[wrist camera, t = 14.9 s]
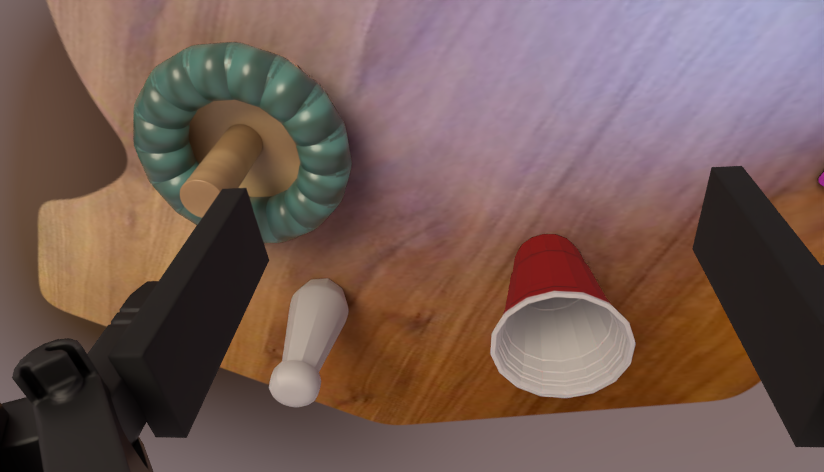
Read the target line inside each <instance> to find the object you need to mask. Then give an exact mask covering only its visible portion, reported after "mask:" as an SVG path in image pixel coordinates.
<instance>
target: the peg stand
mask: <svg viewBox="0 0 824 472" xmlns="http://www.w3.org/2000/svg"><path fill="white" fill-rule="evenodd" d="M296 67H298V66H296ZM298 68H299V67H298ZM189 142H190V144H191V147H192V150H193V153H194V156H195V159H196V160H197V161H198V163H199V165H198V167H197V168H196V169H195V170H194V172H193V173H192V174H191V175H190V177H189V178H188V179H187V180H186V182H185V183H184V184H183V185H182V187H181V189H180V199H181V202H182V204H183V205H184V207H185V208H186V209H187V210H188V211H189V212H191V213H192V214H194V215H196V216H198V217H201V218H202V217H203V216H204V215H205V213H206V212H207V210H208V209H209V207H210V206H211V204H212V203H213V201H214V200H215V198H216V197H217V196H218V194H219V193H220V191H221V190H222V189H230V188H247V191H248V194H249V196H251V197H267V196H274V195H276V194H279V193H281V192H283V191H285V190H287V189H288V188H289V187H290V186H291V185H292V183H293V182H294V181H295V180H296V179H297V175H298V170H299V165H300V160H299V156H298V152H297V148H296V143H295V142H294V141H293V139H292V138H291V136H290V135H289V133H288V132H287V131H286V129H285V128H284V126H283V125H282V123H280V122H279V121H278V120H276V119H275V118H273V117H272V116H271V115H269V114H268V113H267V112H265V111H264V110H262V109H261V108H260V107H256V106H253V105H250V104H247V103H244V102H241V101H237V100H224V101H213V102H211V103H209V104H207V105H206V106H204V107H202V108H200V109H198V111H197V112H196V114H195V115H194V117H193V119H192V120H191V122H190V130H189Z"/></svg>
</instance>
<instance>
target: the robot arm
mask: <svg viewBox="0 0 824 472" xmlns="http://www.w3.org/2000/svg"><path fill="white" fill-rule="evenodd" d="M693 251H694V253H695V255H696V257H697V259H698V261H699V262H700V264H701V266H702V268H703V270H704V272H705V274H706V276H707V278H708V280H709V282H710V284H711V285H712V287H713V289H714V291H715V293H716V295H717V297H718V299H719V301H720V303H721V305H722V307H723V308H724V310H725V312H726V314H727V316H728V318H729V320H730V322H731V324H732V326H733V328H734V330H735V331H736V333H737V335H738V337H739V339H740V341H741V343H742V345H743V347H744V349H745V351H746V352H747V354H748V356H749V358H750V360H751V362H752V364H753V366H754V368H755V370H756V372H757V374H758V375H759V377H760V379H761V381H762V383H763V385H764V387H765V389H766V391H767V393H768V394H769V397H770V398H771V400H772V402H773V404H774V406H775V408H776V410H777V412H778V414H779V416H780V418H781V419H782V421H783V423H784V425H785V427H786V429H787V431H788V433H789V435H790V437H791V439H792V441H793V442H794V444H795V446H796V447H824V265H820V264H819V262H818V261H817V260H816V259H815V257H814V256H813V255H812V254H811V252H810V251H809V250H808V248H807V247H806V246H805V245H804V243H803V242H802V241H801V240H800V238H799V237H798V236H797V235H796V233H795V232H794V231H793V230H792V228H791V227H790V226H789V225H788V223H787V222H786V221H785V220H784V218H783V217H782V216H781V215H780V213H779V212H778V211H777V209H776V208H775V207H774V206H773V204H772V203H771V202H770V201H769V199H768V198H767V197H766V196H765V194H764V193H763V192H762V191H761V189H760V188H759V187H758V186H757V184H756V183H755V182H754V181H753V179H752V178H751V177H750V176H749V174H748V173H747V172H746V170H745V169H744V168H743V167H742V166H732V167H712V168H711V172H710V177H709V181H708V185H707V189H706V194H705V198H704V202H703V206H702V211H701V215H700V219H699V223H698V227H697V232H696V236H695V240H694V244H693ZM268 262H269V258H268V255H267V252H266V249H265V246H264V242H263V239H262V236H261V233H260V230H259V226H258V223H257V220H256V217H255V214H254V210H253V207H252V204H251V201H250V198H249V194H248V191H247V188H230V189H222V190H221V191H220V193H219V194H218V196H217V197H216V198H215V200H214V201H213V203H212V204H211V206H210V207H209V209H208V210H207V212H206V213H205V215H204V216H203V217H202V219H201V220H200V222H199V223H198V225H197V226H196V228H195V229H194V231H193V232H192V233H191V235H190V236H189V238H188V239H187V241H186V242H185V244H184V245H183V247H182V248H181V250H180V251H179V252H178V254H177V255H176V257H175V258H174V260H173V261H172V263H171V264H170V266H169V267H168V268H167V270H166V271H165V273H164V274H163V276H162V277H161V279H160V280H159V281H151V282H146V283H145V284H143V285H142V286H141V287H140V288H138V289H137V290H136V291H135V292H133V293H132V294H131V295H130V296H129V297H128V299H127V300H126V302H125V303H124V304H123V306H122V307H121V308H120V312H119V313H117V314H116V315H115V317H114V318H113V319H112V321H111V325H108V326H107V328H106V329H105V330H104V332H103V333H102V335H101V336H100V337H99V339H98V340H97V341H96V343H95V344H94V346H93V347H92V348H91V350H90V351H89V352H88V354H86V352H85V350H84V349H83V347H82V346H81V344H80V343H79V342H78V341H77V340H73V339H57V340H54V341H51V342H48V343H45V344H43V345H41V346H39V347H38V348H36V349H34V350H32V351H31V352H30V353H28V354H27V355H26V356H25V357H24V358H23V359H21V360H20V362H19V363H18V365H17V366H16V367H15V369H14V372H13V377H12V378H13V380H14V381H15V382H16V384H17V385H18V386H19V388H20V389H21V390H22V391H23V393H24V394H25V395H26V398H22V399H18V400H14V401H10V402H6V403H3V404H1V403H0V472H153V469H152V467H151V464H150V461H149V458H148V455H147V453H146V450H145V447H144V444H143V443H142V441H141V440H140V438H139V435H140V433H141V431H142V429H143V427H144V425H145V424H146V422H147V423H148V425H149V427H150V428H151V430H152V432H153V433H154V435H155V437H177V438H186V437H187V436H188V434H189V431H190V429H191V427H192V425H193V423H194V421H195V419H196V416H197V414H198V412H199V410H200V408H201V406H202V403H203V401H204V399H205V397H206V395H207V393H208V391H209V388H210V386H211V384H212V382H213V380H214V377H215V376H216V373H217V371H218V369H219V367H220V365H221V363H222V360H223V358H224V356H225V354H226V352H227V350H228V348H229V345H230V343H231V341H232V339H233V337H234V335H235V333H236V330H237V328H238V326H239V324H240V322H241V320H242V317H243V315H244V313H245V311H246V309H247V307H248V305H249V302H250V300H251V298H252V296H253V294H254V292H255V289H256V287H257V285H258V283H259V281H260V279H261V277H262V274H263V272H264V270H265V268H266V266H267V264H268Z"/></svg>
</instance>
